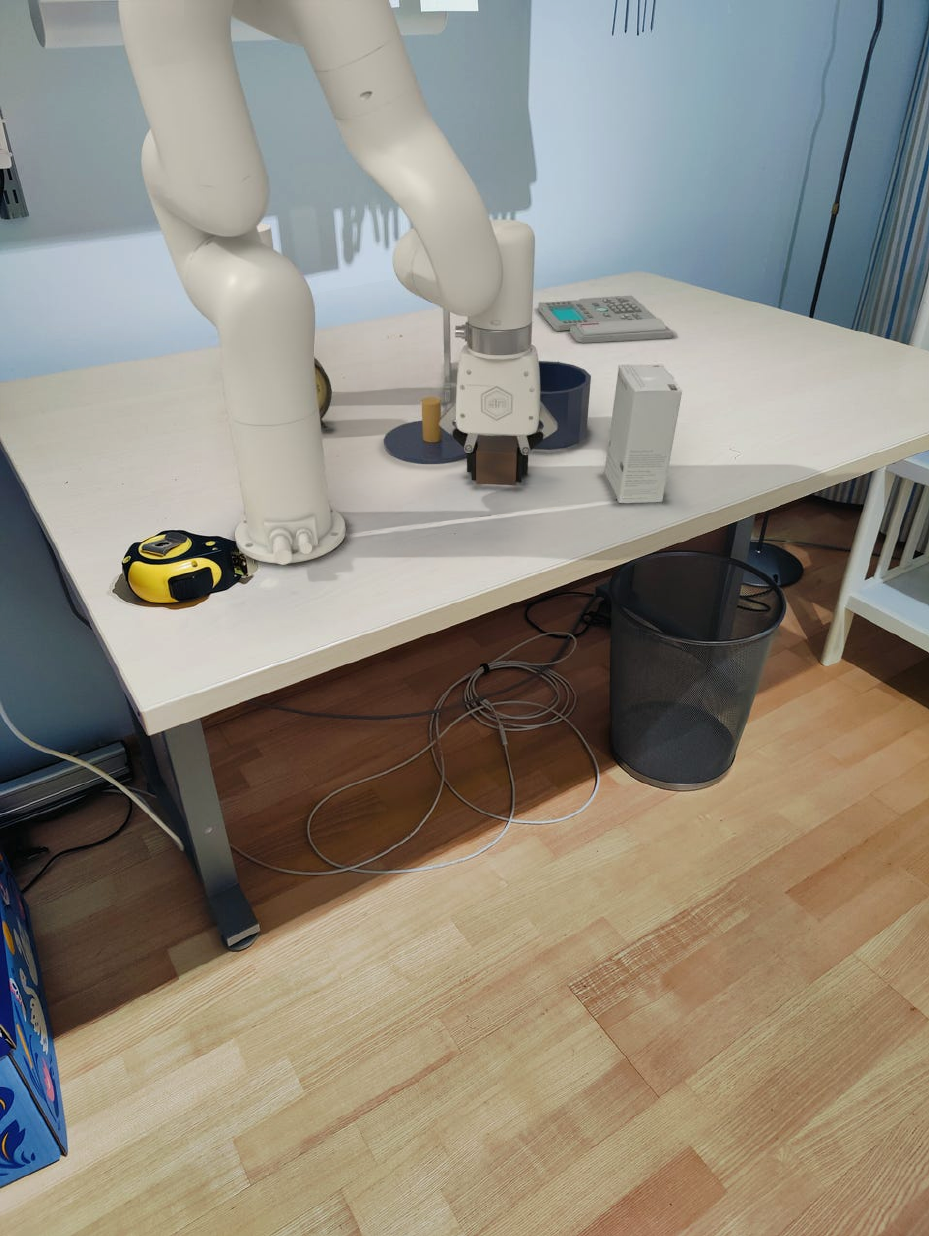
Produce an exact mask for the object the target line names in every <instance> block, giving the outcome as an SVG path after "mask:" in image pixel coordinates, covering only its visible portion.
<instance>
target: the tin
mask: <svg viewBox="0 0 929 1236" xmlns="http://www.w3.org/2000/svg"><path fill="white" fill-rule="evenodd" d="M538 361H539V370H540V401H541V402H542V403H543V405H544V406H545V407H546V408H547V410H548V411H549V412H550V414H551V415H552V416H553V417H554V419H555V420H556V421H557V423H558V426H557V430H556V431H555V432H553V433H552V434H551V435H549V436H548V437H546V438H544V439H543V440H542V441H541V442H540V443H539V444H538V445H537V446H536V447H534V448H533V449H532V450H543V451H551V450H559V449H566V448H570V447H572V446H575V445H578V444H580V443H581V442H582V441H584V440H585V439H586V438H587V431H588V419H589V407H590V406H589V405H590V397H591V396H590V393H591V384H592V383H591V382H592V375H591V374H590V373H589V372H588V371H587V370H586V369H584V368H582V367H579V366H577V365H575V364H571V363H566V362H560V361H550V360H549V361H548V360H538ZM542 425H543V423H542V422H541V421H540V419H539V425H538V428H540V427H541V426H542ZM499 436H504V435H499Z"/></svg>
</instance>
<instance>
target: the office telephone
mask: <svg viewBox="0 0 929 1236" xmlns="http://www.w3.org/2000/svg"><path fill="white" fill-rule="evenodd" d="M537 309H538V311H539V313H540V314H541V315H542V316H543V318H544V319H545V320H546V321H547V322H548V324H549V325H550V326H551V327H552V328H553V329H554V330H555V331H556V332H561V331H563V332H564V331H569V334H570V335H571V336H572V337H573V339H574V340H575V341H576V343H581V344H586V343H588V344H589V343H607V342H626V341H642V340H643V341H644V340H660V339H672V336H673V331H672V329H670V328H669V327H668V326H667V325H666V324H665V322H664V321H663V319H661V318H659V317H658V318H657V317H656V316H655V315H654V314H652V312H650V311H649V310H648V309H647V308H646V307H645V306H644V305H642V304H641V303H640V302H639V301H638V300H637V299H636V298H635V296H632V295H617V296H616V295H615V296H601V297H599V296H598V297H586V298H579V299H577V300H565V301H563V300H562V301H550V302H549V301H547V302H544V301H543V302H541V301H540V302H538V304H537Z"/></svg>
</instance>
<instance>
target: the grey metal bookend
mask: <svg viewBox="0 0 929 1236" xmlns="http://www.w3.org/2000/svg"><path fill="white" fill-rule="evenodd" d="M442 310H443V311H442V319H443V320H442V322H443V323H442V324H443V325H442V327H443V363H444V364H443V372H444V373H443V374H444V375H443V376H444V377H443V378H444V399H445V400H444V404H446V411H447V410H448V409H449V408H450V406H451V405H452V404H453V403H454V402H455V401H456V389H457V373H458V364H459V362H452V359H451V357H452V355H451V354H452V353H451V351H452V350H451V349H452V347H451V312H449V311H447V310H445V309H443V308H442Z"/></svg>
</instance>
